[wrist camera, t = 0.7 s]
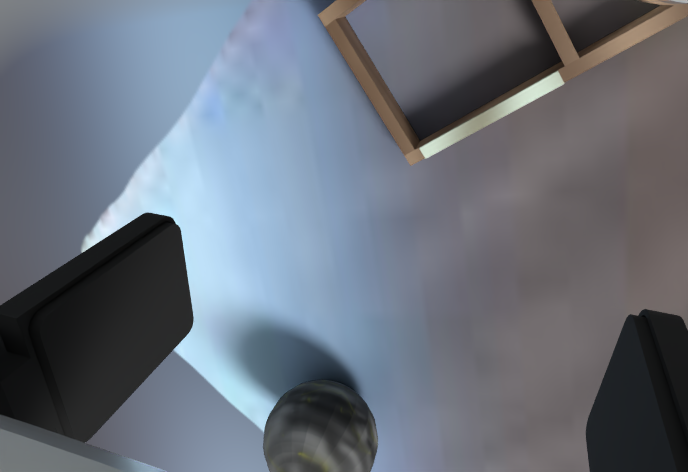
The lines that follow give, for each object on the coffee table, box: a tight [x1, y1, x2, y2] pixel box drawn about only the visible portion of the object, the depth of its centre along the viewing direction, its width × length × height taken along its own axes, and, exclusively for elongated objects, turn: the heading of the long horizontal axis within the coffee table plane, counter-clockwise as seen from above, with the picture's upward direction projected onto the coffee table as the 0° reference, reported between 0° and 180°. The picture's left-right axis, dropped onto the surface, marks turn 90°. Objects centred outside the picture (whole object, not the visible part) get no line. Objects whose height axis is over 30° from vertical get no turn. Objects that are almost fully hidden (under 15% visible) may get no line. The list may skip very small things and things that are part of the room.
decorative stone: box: [263, 380, 378, 472], centre depth 44 cm, size 10×10×10 cm
